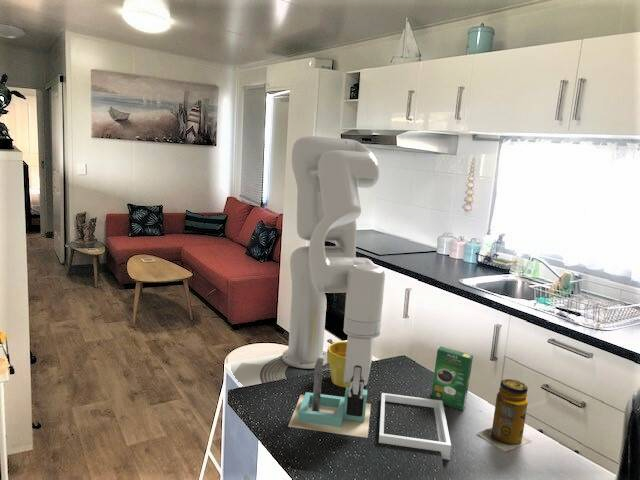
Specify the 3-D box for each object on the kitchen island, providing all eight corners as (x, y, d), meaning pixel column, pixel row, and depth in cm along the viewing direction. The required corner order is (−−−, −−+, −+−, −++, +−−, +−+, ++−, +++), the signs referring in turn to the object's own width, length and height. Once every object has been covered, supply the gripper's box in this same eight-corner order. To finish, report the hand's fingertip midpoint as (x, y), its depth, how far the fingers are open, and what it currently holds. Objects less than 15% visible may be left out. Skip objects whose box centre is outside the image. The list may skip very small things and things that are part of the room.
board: (300, 400, 114) (300, 394, 114) (370, 410, 112) (370, 403, 112) (287, 433, 101) (288, 426, 100) (367, 444, 99) (367, 437, 98)
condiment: (530, 441, 104) (539, 387, 102) (505, 452, 99) (513, 396, 97) (501, 424, 110) (508, 373, 108) (475, 434, 105) (482, 381, 103)
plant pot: (368, 398, 118) (371, 359, 116) (324, 394, 118) (327, 355, 116) (365, 379, 128) (368, 342, 126) (325, 375, 128) (328, 339, 127)
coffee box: (467, 406, 117) (474, 353, 115) (464, 411, 115) (470, 357, 112) (433, 396, 121) (439, 345, 119) (430, 401, 118) (436, 348, 116)
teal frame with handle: (305, 400, 112) (307, 375, 111) (365, 408, 110) (368, 383, 109) (297, 421, 103) (299, 393, 102) (363, 430, 101) (365, 402, 100)
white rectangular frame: (380, 404, 115) (381, 392, 114) (440, 413, 113) (442, 400, 113) (378, 449, 97) (379, 435, 97) (449, 459, 95) (451, 445, 95)
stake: (313, 406, 109) (317, 357, 107) (320, 407, 109) (324, 358, 107) (309, 417, 104) (313, 367, 103) (317, 418, 104) (321, 368, 102)
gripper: (347, 311, 111) (342, 384, 114) (339, 337, 94) (333, 422, 97) (381, 315, 110) (375, 388, 113) (379, 341, 93) (372, 427, 96)
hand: (356, 403), depth 105 cm, fingers open, 9 cm apart
